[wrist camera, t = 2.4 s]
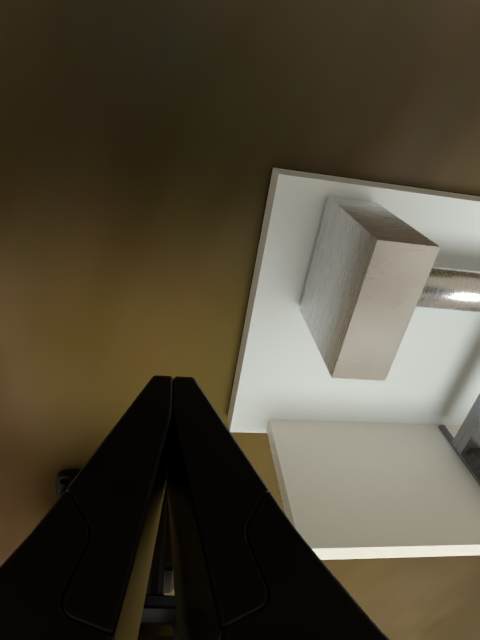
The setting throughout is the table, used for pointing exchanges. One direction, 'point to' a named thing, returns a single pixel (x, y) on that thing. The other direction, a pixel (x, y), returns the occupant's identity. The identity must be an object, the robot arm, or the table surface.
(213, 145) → the table surface
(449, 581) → the table surface
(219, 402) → the table surface
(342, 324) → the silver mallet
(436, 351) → the gauge base
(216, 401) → the table surface
